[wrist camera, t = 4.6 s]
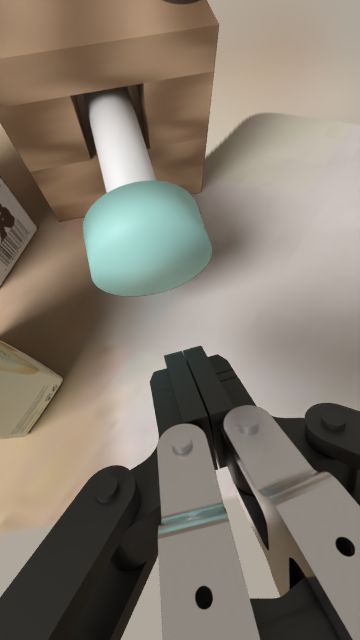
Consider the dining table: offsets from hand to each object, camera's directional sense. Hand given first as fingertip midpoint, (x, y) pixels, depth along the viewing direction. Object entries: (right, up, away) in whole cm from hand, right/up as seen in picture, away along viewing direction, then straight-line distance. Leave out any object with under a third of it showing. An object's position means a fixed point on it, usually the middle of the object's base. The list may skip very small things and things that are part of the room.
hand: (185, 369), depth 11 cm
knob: (-3, +10, +8) cm, 13 cm away
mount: (-5, +15, +14) cm, 21 cm away
